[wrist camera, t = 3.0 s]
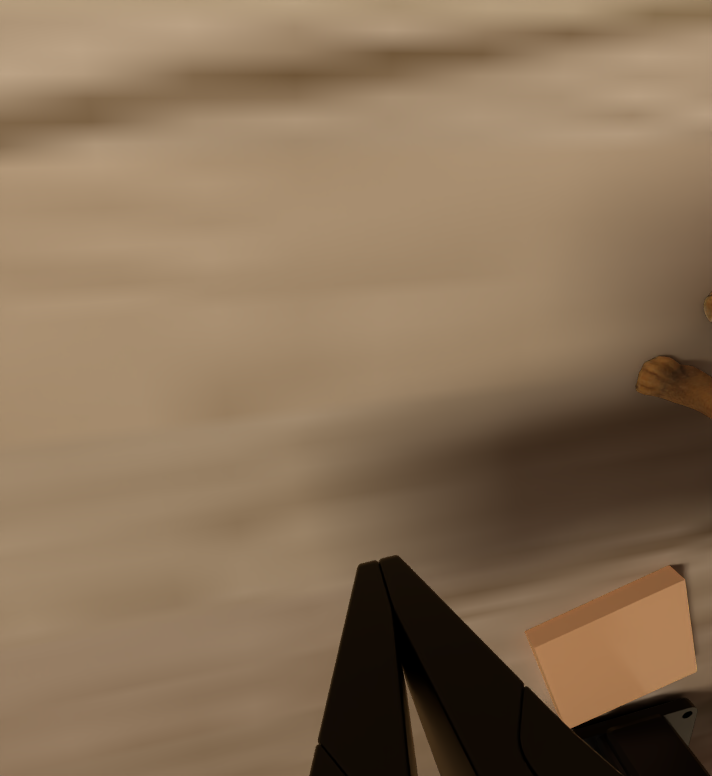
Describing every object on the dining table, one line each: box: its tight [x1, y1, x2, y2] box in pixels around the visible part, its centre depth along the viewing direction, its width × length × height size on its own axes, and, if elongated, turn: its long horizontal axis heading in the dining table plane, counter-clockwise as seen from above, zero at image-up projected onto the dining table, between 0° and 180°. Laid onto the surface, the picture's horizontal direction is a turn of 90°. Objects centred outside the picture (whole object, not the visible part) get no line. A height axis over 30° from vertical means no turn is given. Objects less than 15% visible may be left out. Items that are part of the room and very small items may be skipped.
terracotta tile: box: [525, 565, 697, 729], centre depth 17 cm, size 6×6×1 cm
